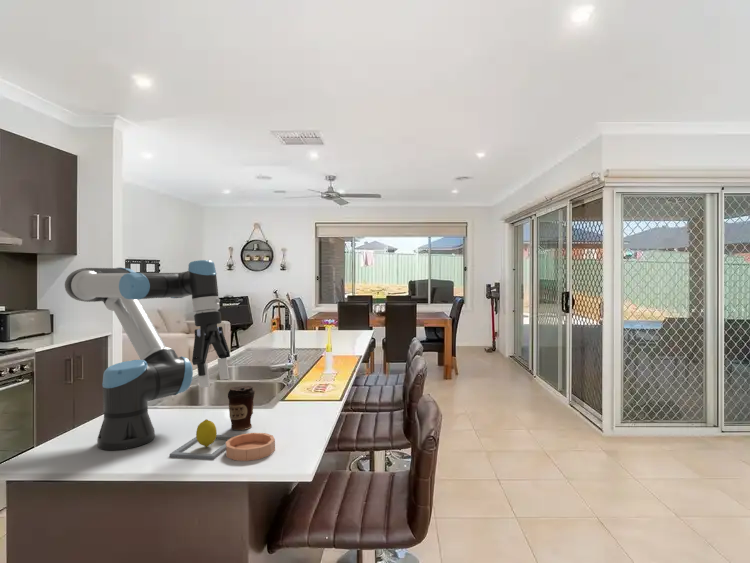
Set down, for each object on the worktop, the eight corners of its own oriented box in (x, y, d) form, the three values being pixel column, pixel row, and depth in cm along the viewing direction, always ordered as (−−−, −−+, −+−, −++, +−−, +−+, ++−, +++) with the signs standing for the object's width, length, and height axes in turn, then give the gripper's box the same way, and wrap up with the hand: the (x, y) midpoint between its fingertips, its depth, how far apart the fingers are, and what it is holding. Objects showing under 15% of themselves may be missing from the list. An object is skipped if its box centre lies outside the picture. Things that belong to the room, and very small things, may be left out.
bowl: (217, 459, 125) (217, 448, 125) (238, 442, 138) (238, 432, 138) (263, 461, 123) (263, 450, 123) (281, 444, 136) (280, 433, 136)
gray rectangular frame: (169, 456, 127) (169, 453, 127) (200, 436, 143) (200, 434, 143) (214, 459, 125) (214, 456, 125) (240, 438, 141) (240, 435, 141)
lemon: (199, 444, 137) (199, 416, 136) (219, 443, 137) (218, 416, 137) (193, 451, 131) (193, 422, 131) (213, 450, 131) (213, 422, 131)
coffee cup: (247, 432, 146) (246, 391, 146) (222, 431, 148) (222, 390, 147) (259, 424, 154) (258, 385, 154) (236, 422, 156) (235, 384, 156)
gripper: (199, 310, 127) (208, 389, 125) (235, 309, 151) (243, 375, 150) (173, 314, 127) (182, 392, 126) (213, 312, 152) (220, 378, 151)
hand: (215, 383), depth 138 cm, fingers open, 13 cm apart
